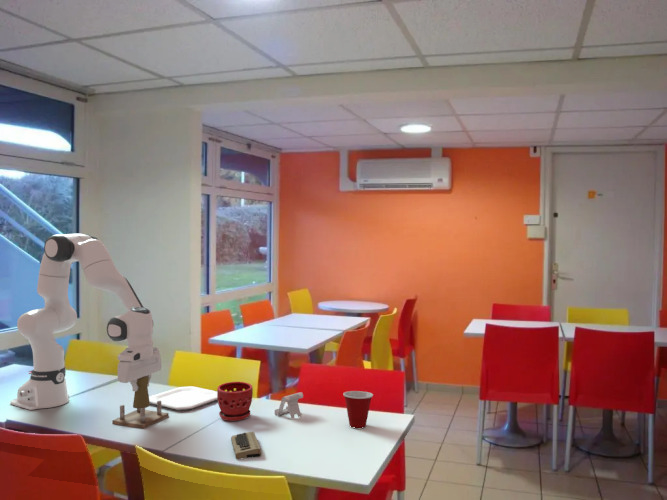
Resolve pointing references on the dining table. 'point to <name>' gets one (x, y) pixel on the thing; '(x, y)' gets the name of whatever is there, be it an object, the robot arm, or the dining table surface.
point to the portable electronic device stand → (290, 405)
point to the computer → (246, 445)
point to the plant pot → (234, 400)
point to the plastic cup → (357, 407)
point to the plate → (184, 398)
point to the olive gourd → (141, 394)
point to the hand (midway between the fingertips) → (140, 388)
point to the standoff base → (136, 419)
